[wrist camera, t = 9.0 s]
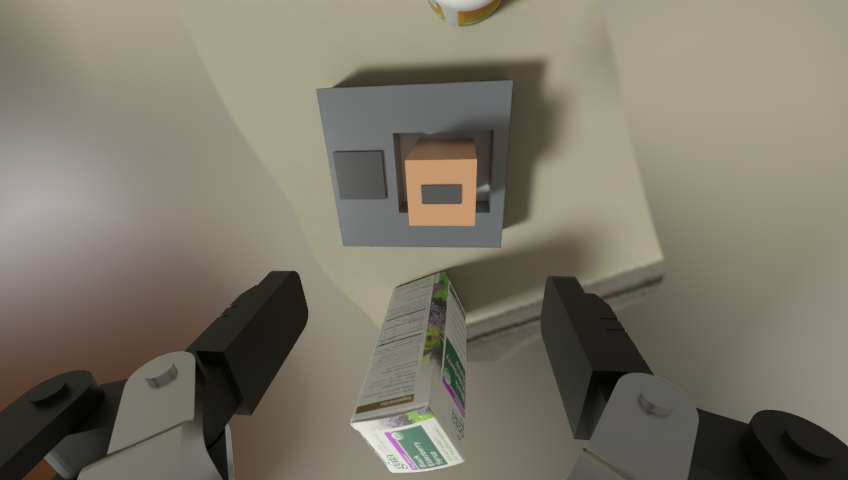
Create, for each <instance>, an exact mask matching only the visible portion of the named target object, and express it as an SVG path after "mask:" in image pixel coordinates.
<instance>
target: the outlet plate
mask: <svg viewBox="0 0 848 480" xmlns="http://www.w3.org/2000/svg"><path fill="white" fill-rule="evenodd" d="M512 86H513V80H489V81H467V82H445V83H423V84H400V85H378V86H356V87H334V88H323V89H316V91H317V97H318V103H319V109H320V114H321V120H322V126H323V132H324V138H325V143H326V149H327V155H328V161H329V166H330V172H331V178H332V184H333V190H334V195H335V201H336V207H337V213H338V218H339V224H340V230H341V236H342V242H343V246H378V247H480V248H501V240H502V226H503V212H504V198H505V184H506V170H507V156H508V142H509V128H510V114H511V100H512ZM458 138H473V140H474V146H475V151H476V156H477V177H476V209H475V226H409V214H408V199H407V184H406V170H405V160H406V158H407V157H408V155H409V153H410V152H411V150H412V149H413V147H414V146H415V144H416V143H417V141H418V140H419V139H458Z"/></svg>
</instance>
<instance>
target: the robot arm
mask: <svg viewBox="0 0 848 480" xmlns="http://www.w3.org/2000/svg"><path fill="white" fill-rule="evenodd" d="M307 319H308V307H307V303H306V299H305V296H304V292H303V288H302V284H301V280H300V276H299V274H298V273H297V272H296V271H271V272H270V273H269V274H268V275H267V276H266V277H265V278H264V279H263V280H262V281H261V282H260V283H259V284H258V285H255V286H254V287H252V288H251V289H249V290H247V291H246V292H244V293H242V294H241V295H240V296H239V297H238V298H237V299H236V300H235V301H234V302H233V303H232V304H231V305H230V307H229V308H227V309H226V310H225V311H224V312H223V313H222V314H221V315H220V318H219V317H218V318H217V319H216V320H215V321H214V322H213V323H212V324H211V325H210V326H209V327H208V328H207V329H206V330H205V331H204V332H203V333H202V334H201V335H200V336H199V337H198V338H197V339H196V340H195V341H194V342H193V343H192V344H191V345H190V346H189V347H188V348H187V349H186V350H185V351H184V352H173V353H169V354H165V355H163V356H160V357H158V358H156V359H153V360H152V361H150V362H148V363H146V364H145V365H143V366H142V367H141V368H139V369H138V370H137V371H136V372H135V373H134V374H133V375H132V376H131V377H130V378H129V379H126V380H121V381H116V382H111V383H106V384H101V385H99V383H98V382H97V380H96V379H95V378H94V376H93V375H92V373H90V372H89V371H86V370H76V371H70V372H67V373H63V374H60V375H58V376H55V377H53V378H50V379H48V380H46V381H44V382H42V383H40V384H39V385H37V386H35V387H34V388H32V389H30V390H29V391H27V392H26V393H25V394H23V395H22V396H21V397H19V398H18V399H17V400H15V401H14V402H13V403H12V404H10V405H9V406H8V407H6V408H5V409H4V410H2V411H1V412H0V480H21V479H22V478H24V477H25V475H26V474H27V473H29V472H30V471H31V470H32V469H33V468H34V467H35V465H37V464H38V463H39V462H40V461H41V460H42V459H43V458H44V459H45V460H46V461H47V462H48V463H49V464H50V465H51V466H52V467H53V468H54V469H55V470H56V471H57V472H58V473H57V474H56V475H55V476H54V477H53V478H52V480H234V470H233V457H232V445H231V432H230V428H229V426H228V424H227V423H228V422H229V420H230V419H231V417H232V416H233V414H237V415H250V416H251V415H252V413H253V411H254V410H255V408H256V407H257V405H258V404H259V402H260V400H261V399H262V397H263V395H264V394H265V392H266V390H267V389H268V387H269V385H270V384H271V382H272V381H273V379H274V377H275V375H276V374H277V372H278V371H279V369H280V367H281V366H282V364H283V362H284V361H285V359H286V358H287V356H288V354H289V353H290V351H291V349H292V348H293V346H294V344H295V343H296V341H297V340H298V338H299V336H300V335H301V333H302V331H303V330H304V328H305V326H306V323H307ZM541 332H542V337H543V340H544V343H545V347H546V350H547V353H548V356H549V359H550V363H551V366H552V369H553V372H554V375H555V379H556V382H557V385H558V388H559V391H560V395H561V398H562V401H563V404H564V407H565V411H566V414H567V417H568V420H569V424H570V427H571V430H572V433H573V436H574V439H581V440H582V439H583V440H590V441H589V443H588V445H587V447H586V449H585V448H583V449H582V451H581V453H580V454H579V456H578V458H577V461H576V462H575V464H574V466H573V469H572V471H571V473H570V475H569V477H568V479H567V480H848V446H847V445H845V444H844V443H843V442H842V441H841V440H839V439H838V438H837V437H835V436H834V435H833V434H831V433H830V432H828V431H826V430H825V429H823V428H822V427H820V426H818V425H816V424H814V423H812V422H810V421H808V420H806V419H804V418H801V417H799V416H796V415H793V414H790V413H786V412H783V411H777V410H763V411H760V412H757V413H756V414H755V415H754V416H753V418H752V419H751V421H750V422H749V424H747V423H743V422H740V421H737V420H734V419H730V418H727V417H724V416H720V415H717V414H713V413H710V412H707V411H704V410H701V409H698V408H696V407H695V406H694V404H693V403H692V401H691V400H690V399H689V398H688V397H687V396H686V395H685V394H684V393H683V392H682V391H681V390H680V389H678V388H677V387H676V386H674V385H673V384H671V383H669V382H667V381H666V380H664V379H661V378H659V377H656V376H654V375H653V373H652V371H651V370H650V369H649V367H648V365H647V364H646V362H645V360H644V359H643V358H642V356H641V355H640V353H639V351H638V350H637V348H636V346H635V345H634V343H633V342H632V340H631V339H630V337H629V336H628V334H627V333H626V332H625V330H624V328H623V326H622V325H621V323H620V322H619V321H618V320H617V317H616V315H615V314H614V312H613V311H612V309H611V307H610V306H609V305H608V304H607V303H606V302H604V301H603V300H602V299H601V298H599V297H598V296H597V295H595V294H586V293H585V292H584V291H583V289H582V287H581V285H580V284H579V282H578V280H577V279H576V277H567V276H549V277H548V278H547V280H546V286H545V292H544V299H543V306H542V312H541Z"/></svg>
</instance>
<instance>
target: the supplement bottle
mask: <svg viewBox="0 0 848 480" xmlns="http://www.w3.org/2000/svg"><path fill="white" fill-rule="evenodd" d="M501 1H502V0H428V2H429V4H430V6H431V7H432V9H433V10H434V11H435V13H436V14H437V15H438V16H439V17H440V18H441V19H443V20H444V21H445V22H447V23H449V24H452V25H455V26H471V25H475V24H477V23H480V22H482V21H483V20H485V19H486V18H487V17H489V16H490V15H491V14H492V13H493V12H494V11H495V9H496V8H497V7H498V6H499V4H500V3H501Z"/></svg>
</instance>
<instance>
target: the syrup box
mask: <svg viewBox="0 0 848 480" xmlns="http://www.w3.org/2000/svg"><path fill="white" fill-rule="evenodd" d="M465 410H466V313H465V311H464V309H463V307H462V304H461V302H460V300H459V298H458V296H457V294H456V292H455V290H454V288H453V286H452V284H451V282H450V280H449V278H448V277H447V275H446V273H445V271H442V272H439V273H436V274H434V275H431V276H428V277H425V278H422V279H419V280H417V281H414V282H411V283H408V284H406V285H403V286H400V287H398V288H395V289H394V290H393V293H392V296H391V300H390V303H389V306H388V309H387V312H386V315H385V318H384V321H383V324H382V327H381V330H380V333H379V337H378V340H377V343H376V346H375V349H374V352H373V355H372V358H371V361H370V364H369V367H368V370H367V373H366V377H365V380H364V383H363V386H362V389H361V392H360V395H359V398H358V401H357V404H356V407H355V410H354V413H353V416H352V419H351V426H353V427H354V429H356V430H358V431H359V432H360V433H361V435H362V436H363V437H364V439H365V440H366V442H367V443H368V444H369V446H370V447H371V448H372V449H373V451H374V452H375V453H376V454H377V455H378V457H379V458H380V459H381V460H382V461H383V463H384V464H385V465H386V466H387V467H388V469H389V470H390V471H391V472H395V473H396V472H420V471H428V470H434V469H439V468H444V467H448V466H451V465H455V464H458V463H461V462H464V461H465V458H466V446H465V445H466V444H465V443H466V441H465V439H466V438H465V426H466V425H465V424H466V420H465V419H466V418H465V417H466V416H465V415H466V414H465V413H466V411H465Z"/></svg>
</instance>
